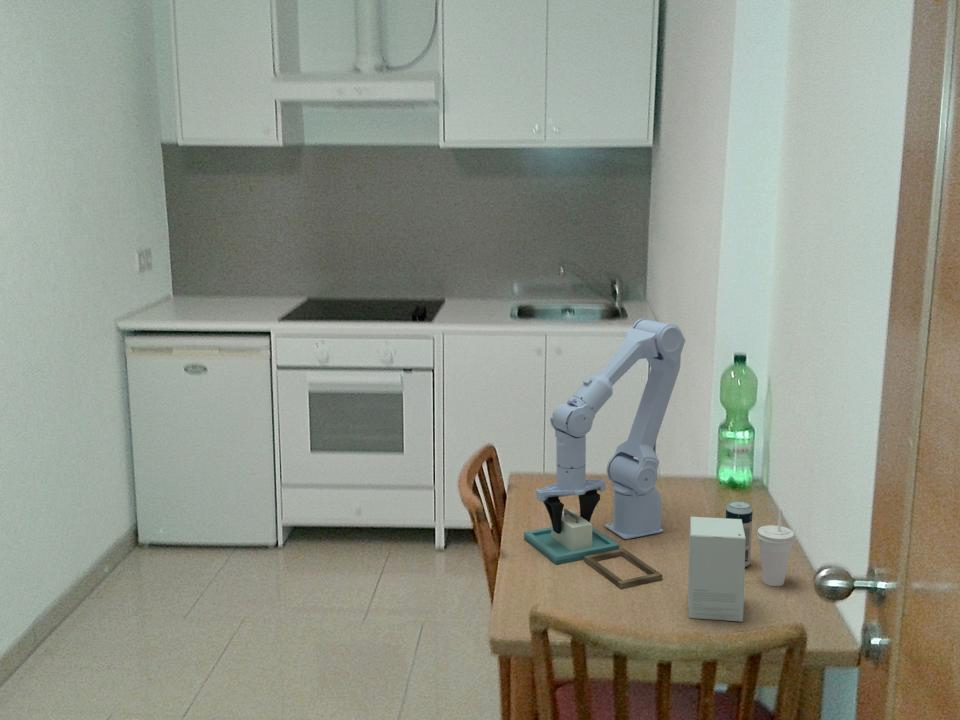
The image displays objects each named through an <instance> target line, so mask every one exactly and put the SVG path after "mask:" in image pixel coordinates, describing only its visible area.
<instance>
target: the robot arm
mask: <svg viewBox="0 0 960 720" xmlns="http://www.w3.org/2000/svg"><path fill="white" fill-rule="evenodd" d="M685 343H686V338H685V337H684V334H683V332H682V331H681V328H680V327H679V326H678V325H677V324H674V323H666V322H661V321H656V320H653V319H652V320H651V319H648V318H643V317H642V318H640V319H638V320H636V321H635V322H634V324H632V326H631V327H630V328H629V329H628V330H627V331H626V333H625V340H624V341H623V343H622V344H621V345H620V347H618V349H617V351H616V352H615V353H614V354H613V356H612V357H611V358H610V360H609V361H608V363H606V365H604V367H603V369H602V370H601V371H600V373H598V374H592V375H589V376H588V377H586V378H585V379H584V380H583V381H582V383H583V384H582V385H581V386H580V387H578V389H577V390H576V391H575V393H574V394H572V396H570V397H569V398H568V399H567V402H564V403H561V404H559V405H558V406H557V407H556V408H555V409H554V410H553V412H552V417H550V418H549V421H550V425H551V426H552V427H551V428H553V429H554V432H555V433H554V435H555V438H556V440H555V441H556V449H555V451H556V483H553V484H551V485H547V486H545V487H541V488H537V489H536V490H535V499H536V500H538V502H540V503H541V502H542V503H543V504H544V506H545V509H546V510H547V513H548V515H549V519H550V523H551V522H552V527H553V531H554V532H556V533H557V534H560V533H561V529H562V524H561V519H562V511H564V506H565V504H564V503H563V502H562V501H561V499H560V498H562V497H569V496H574V495H575V496H578V500H579V501H578V503H579V516H581V517H582V518H584V519H585V520H587V521H588V522H590V523H591V519H592V516H593V513H594V511H595V509H596V507H597V505H598V504H599V501H600V500H601V494H599V493H598V491H599V492H604V491H606V481H605V480H602V479H601V478H598V479H586V476H587V475H586V468H587V467H586V466H587V465H586V458H587V457H586V455H587V454H586V453H587V452H586V451H587V450H586V445H587V442H586V441H587V440H586V439H587V437H586V435H587V434H588V433H589V432H590V431H591V429H592V427H593V421H594V419H595V418H596V414H597V413H598V412H599V411H600V409H602V407H603V406H604V405H605V404H606V403H607V401H608V400H609V399H610V398H611V397H612V395H614V393H613V391H614V390H613V386H614V385H615V384H616V383H617V382H618V381H619V380H620V379H621V378H622V377H623V376H624V375H625V374H626V373H627V372H628V371H629V370H630V369H631V368H632V367H633V366H634V365H636V363H637V362H638V361H639V360H642V359H646V361H647V363H648V365H649V368H650V372H649V375H648V377H647V380H646V383H645V386H644V390H643V392H642V395H641V397H640V402H639V404H638V408H637V410H636V413H635V417H634V420H633V422H632V426H631V430H630V433H629V435H628V437H627V440H626V441H624V442H622V443H621V444H619V445H618V446H617V447H616V449H615V452H614V454H613V455H612V457H611V458H609V460H608V462H607V466H606V475H607V477H608V479H609V480H610V481H611V482H612V483H611V486H612V487H613V520H612V522H610V523H606V524H605V525H604V527H605V528H606V529H608V530H609V531H611V532H613V534H615V535H617V536H619V537H621V539H623V540H630V539H633V538H639V537H645V536H649V535H653V534H659V533H664V529H663V528H662V508H663V507H662V506H663V505H662V503H663V502H662V497H661V494H660V492H659V490H658V489H657V488H656V487H655V486H656V484H657V481H658V467H659V464H660V461H659V458H658V456H657V454H656V452H655V450H654V448H655V444H656V442H657V438H658V436H659V432H660V429H661V427H662V423H663V421H664V418H665V414H666V412H667V408H668V406H669V404H670V403H669V402H670V400H671V397H672V394H673V390H674V388H675V384H676V381H677V379H678V375H679V372H680V369H681V354H682V352H683V349H684V346H685Z"/></svg>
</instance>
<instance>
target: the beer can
mask: <svg viewBox="0 0 960 720" xmlns="http://www.w3.org/2000/svg"><path fill="white" fill-rule="evenodd" d="M725 518H727V519H742V524H743V528H744V533H745V537H746V544H745V568H746V567H749V566H750V564H751V553H752V552H751V551H752V550H751V549H752V534H753V532H752V531H753V530H752V529H753V509H752V506H751V504H750V502H747V501H743V500H733V501H730V502H728V504H727V506H726V507H725Z"/></svg>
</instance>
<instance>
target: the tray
mask: <svg viewBox="0 0 960 720" xmlns="http://www.w3.org/2000/svg"><path fill="white" fill-rule="evenodd" d="M523 540H525V541H526V542H527V543H528V544H529V545H531V546H532V547H533V548H535V549H536V550H537V551H539V552H540V553H541V554H542V555H543V556H545V558H547V559H548V560H549V561H551V562H552V563H553V564H555V565H556V566H557V565H562V564H567V563H572V562H576V561H581V560H584V556H588V555H593V554H598V553H603V552H608V551H613V550H618V549H620V544H619V543H617V542H616V541H614V540H613V539H611V538H610V537H608V536H607V535H606V534H604V533H603V532H601V531H600V530H598V529H596V528H595V527H593V526H592V548H587V549H582V550H577V551H570V550H569V549H568V548H566V547H565V546H564V545H562V544H561V543H560V542H558V541H557V540H556V539H554V538H553V537H552V536H551V526H549V527H544V528H538V529H534V530H529V531H524V532H523Z"/></svg>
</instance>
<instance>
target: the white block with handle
mask: <svg viewBox="0 0 960 720" xmlns="http://www.w3.org/2000/svg"><path fill="white" fill-rule="evenodd" d="M561 524H562V529H561V533H560V534H557V533H556V532H554V531H553V527H552V522H551V521H550V527H551V536H552V537H553V538H554V539H556V540H557V541H558V542H560V543H561V544H562V545H564V546H565V547H566V548H568V549H569V550H570V551H577V550H582V549H587V548H592V527H593V524H592V523H591V521H590V522H588V521H587V520H585V519H584V518H582V517H581V516H580V514H578V513H576V512H575V511H573V510H572V509H568V508H563V511H562V519H561Z"/></svg>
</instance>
